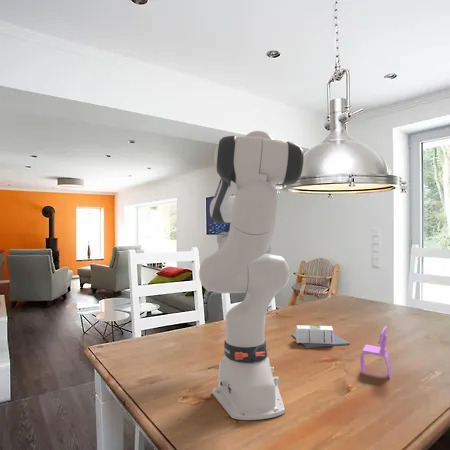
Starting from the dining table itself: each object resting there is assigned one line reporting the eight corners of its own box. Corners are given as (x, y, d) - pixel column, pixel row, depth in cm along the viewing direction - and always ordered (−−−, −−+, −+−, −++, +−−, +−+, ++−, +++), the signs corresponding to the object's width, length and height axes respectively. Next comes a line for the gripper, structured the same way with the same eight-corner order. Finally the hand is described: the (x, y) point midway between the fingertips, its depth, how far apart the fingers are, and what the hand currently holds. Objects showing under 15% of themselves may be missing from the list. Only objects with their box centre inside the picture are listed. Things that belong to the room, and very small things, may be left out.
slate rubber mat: (349, 344, 140) (349, 343, 140) (306, 347, 136) (306, 346, 136) (330, 332, 156) (330, 331, 156) (291, 335, 152) (291, 334, 152)
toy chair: (363, 365, 119) (363, 320, 119) (392, 370, 115) (392, 324, 115) (359, 374, 112) (358, 326, 112) (389, 380, 107) (389, 330, 108)
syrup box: (296, 343, 140) (334, 345, 138) (296, 328, 140) (334, 329, 138) (295, 338, 146) (332, 340, 144) (295, 324, 146) (332, 325, 144)
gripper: (218, 231, 129) (218, 270, 129) (272, 231, 133) (272, 268, 133) (215, 231, 135) (216, 268, 135) (267, 231, 139) (267, 266, 139)
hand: (244, 268), depth 134 cm, fingers closed
